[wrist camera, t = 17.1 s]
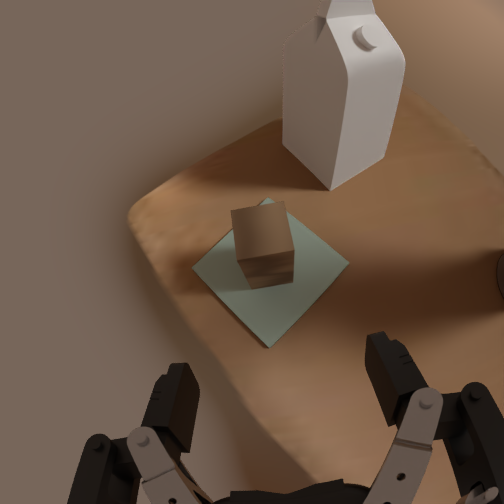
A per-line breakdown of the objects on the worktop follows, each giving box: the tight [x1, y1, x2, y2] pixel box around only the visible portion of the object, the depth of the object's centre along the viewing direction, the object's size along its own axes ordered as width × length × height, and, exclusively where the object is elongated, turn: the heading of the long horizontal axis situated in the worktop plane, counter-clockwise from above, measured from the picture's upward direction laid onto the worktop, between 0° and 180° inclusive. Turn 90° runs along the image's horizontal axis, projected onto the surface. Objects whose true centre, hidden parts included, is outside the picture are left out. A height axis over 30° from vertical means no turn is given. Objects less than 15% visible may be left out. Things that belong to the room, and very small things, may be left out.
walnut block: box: [231, 201, 295, 290], centre depth 29 cm, size 5×5×10 cm
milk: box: [282, 0, 405, 191], centre depth 28 cm, size 12×12×26 cm
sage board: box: [192, 197, 349, 348], centre depth 34 cm, size 14×14×1 cm
